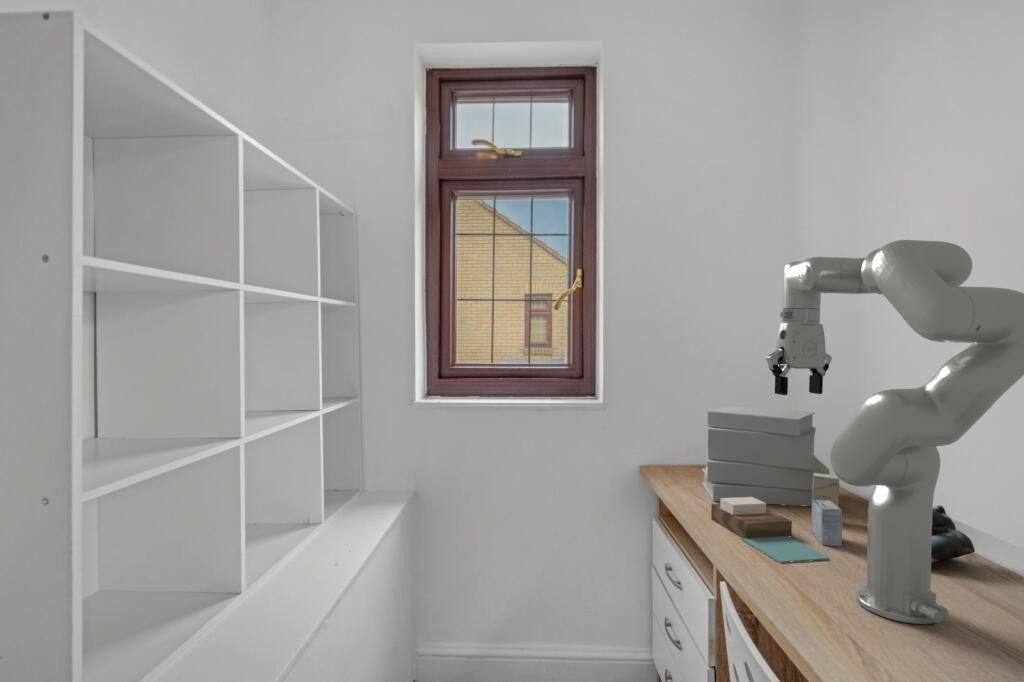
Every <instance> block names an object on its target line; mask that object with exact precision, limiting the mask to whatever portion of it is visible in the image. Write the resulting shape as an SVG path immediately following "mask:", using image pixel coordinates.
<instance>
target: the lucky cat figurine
mask: <svg viewBox="0 0 1024 682" xmlns="http://www.w3.org/2000/svg"><path fill="white" fill-rule="evenodd" d="M974 546H975V545H974V544H973V541H972V540H971V539H970V537H969V536H967V535H966V534H965V533H964V532H962V531H960V530H958V529H957V527H956V525H955V522H954V521H953V520H952V518H951V517H950V516H949V515H948V514H947V512H946V510H945V507H944V506H942V505H940V504H936V505H934V506H933V510H932V543H931V564H933V563H936V562H941V561H946V560H950V559H956V558H960V557H963V556H966V555H970V554H973V553H975V551H976V550H975V547H974Z"/></svg>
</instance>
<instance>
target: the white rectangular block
mask: <svg viewBox="0 0 1024 682" xmlns="http://www.w3.org/2000/svg"><path fill="white" fill-rule="evenodd" d="M719 504H720V508H721V509H723V510H725V511H727V512H729V513H731V514H732V515H742V514H763V513H766V509H767V504H766V503H764V502H762V501H760V500H758V499H756V498H754V497H737V498H720V502H719Z"/></svg>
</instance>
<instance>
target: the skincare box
mask: <svg viewBox="0 0 1024 682" xmlns="http://www.w3.org/2000/svg"><path fill="white" fill-rule="evenodd" d="M839 493H840V478H838V477H837V475H836V474H830V473H829V474H820V473H813V489H812V500H826V501H831V502H832V503H834V504H835V505H836V506H837V507H839V500H840V499H839V498H840V496H839V495H840V494H839ZM811 521H812V518H811Z"/></svg>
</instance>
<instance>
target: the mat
mask: <svg viewBox="0 0 1024 682" xmlns="http://www.w3.org/2000/svg"><path fill="white" fill-rule="evenodd" d="M741 540H743V541H742V542H744V541H745V542H744V543H746V544H747V543H748V544H747V545H748V546H751V547H752V546H753V547H752V548H754V549H755V548H756V549H755V550H757V549H758V550H757V551H759V552H760V551H761V552H760V553H762V552H763V553H762V554H764V555H765V556H767V557H769V558H770V557H771V559H772V560H773V559H774V561H775V560H776V561H775V562H777V561H778V562H779V563H778V562H777V563H778V564H781V563H780V562H790V561H805V562H810V561H809V560H821V561H830V557H829V556H827V555H825V554H822V553H820V552H819V551H816V550H815V549H813V548H811V547H809V546H807V545H805V544H804V543H801V542H800V541H798V540H796V539H795V538H793V537H792V538H790V537H789V536H782V537H764V538H746V539H743V538H742V539H741ZM790 563H791V562H790Z"/></svg>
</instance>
